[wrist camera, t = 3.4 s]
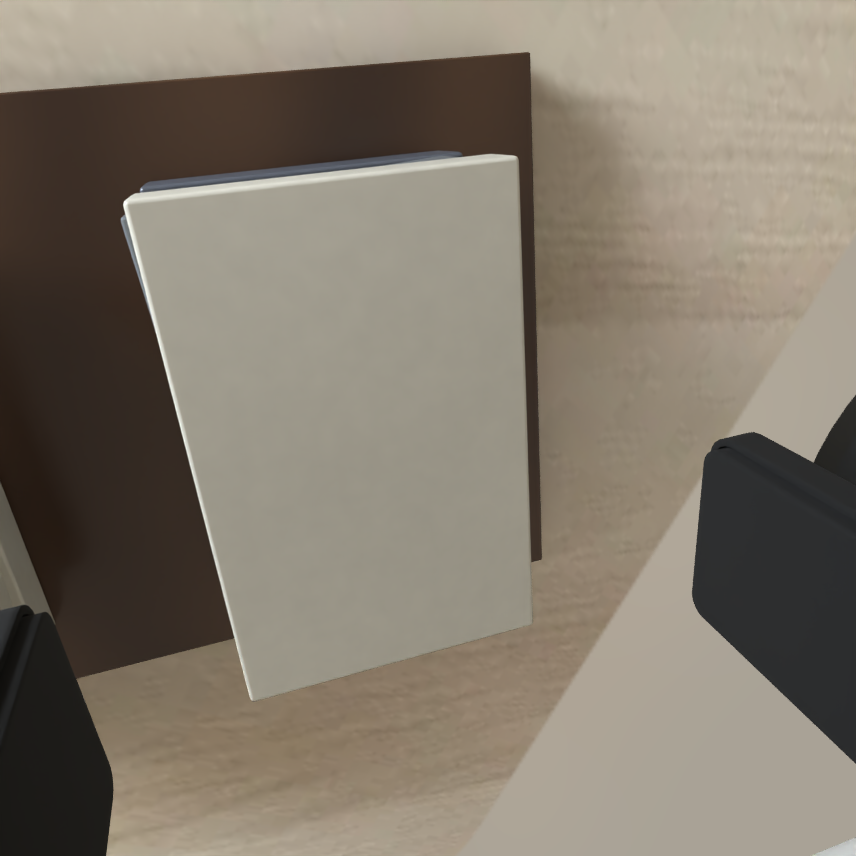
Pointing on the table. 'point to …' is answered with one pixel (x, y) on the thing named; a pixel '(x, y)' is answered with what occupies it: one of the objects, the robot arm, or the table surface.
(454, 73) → the shelf board
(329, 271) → the white book
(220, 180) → the grey stack
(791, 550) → the robot arm
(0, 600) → the white stack
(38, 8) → the table surface
